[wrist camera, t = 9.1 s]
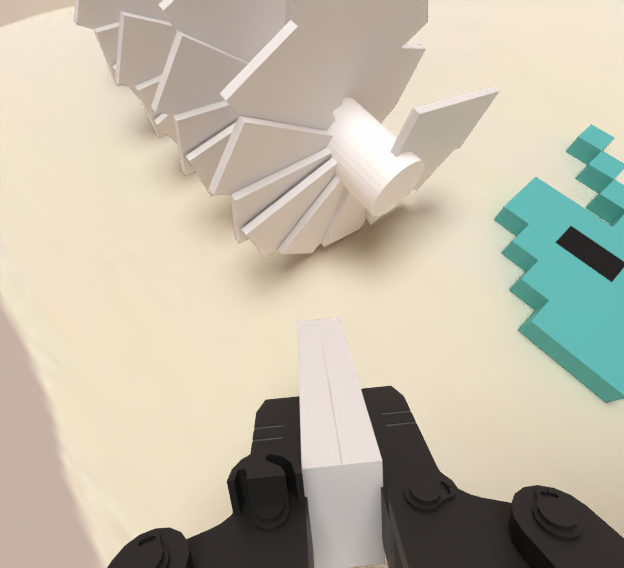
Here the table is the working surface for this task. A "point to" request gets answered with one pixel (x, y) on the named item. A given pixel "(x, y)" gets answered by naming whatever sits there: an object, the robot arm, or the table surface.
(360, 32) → the spiral staircase
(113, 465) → the table surface
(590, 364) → the alien figure
